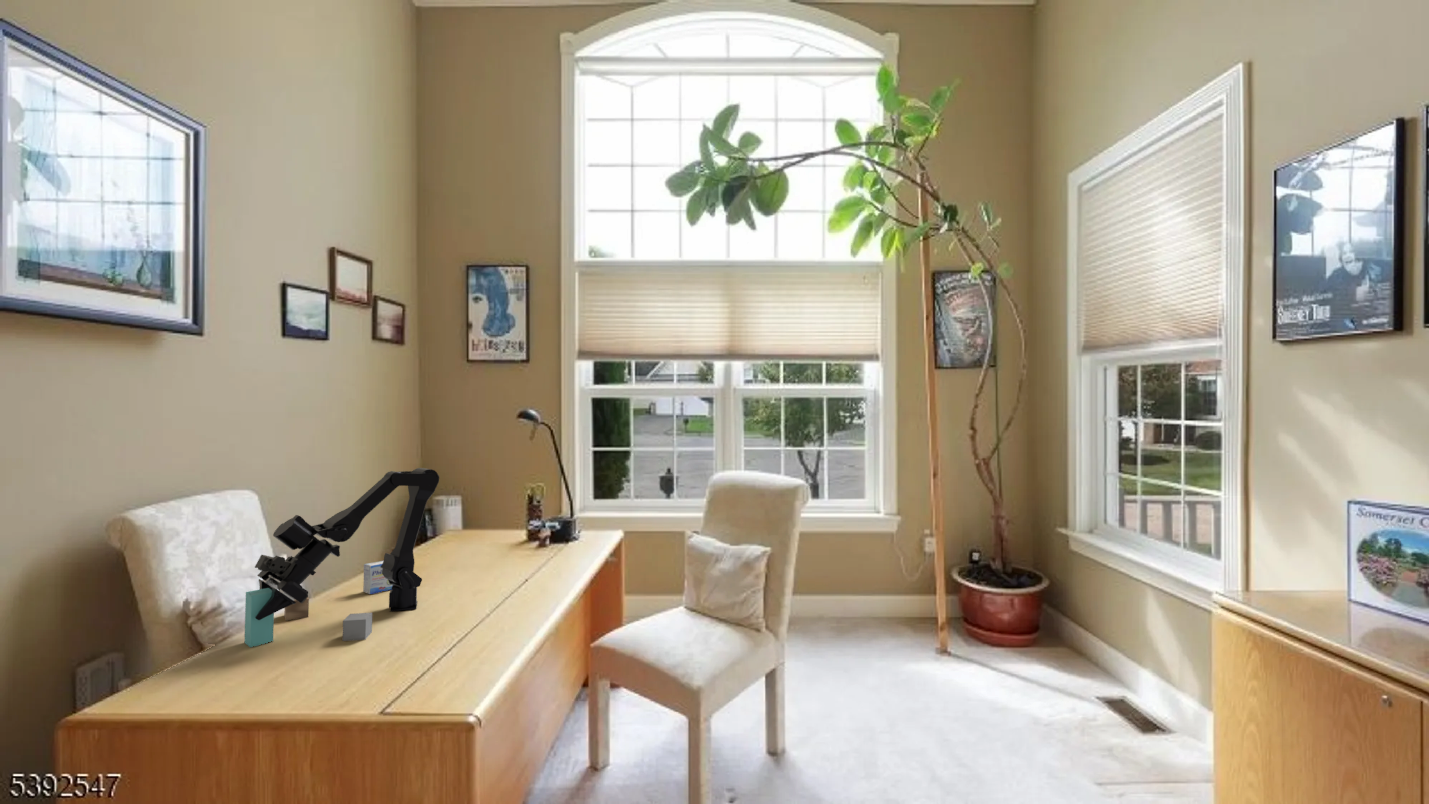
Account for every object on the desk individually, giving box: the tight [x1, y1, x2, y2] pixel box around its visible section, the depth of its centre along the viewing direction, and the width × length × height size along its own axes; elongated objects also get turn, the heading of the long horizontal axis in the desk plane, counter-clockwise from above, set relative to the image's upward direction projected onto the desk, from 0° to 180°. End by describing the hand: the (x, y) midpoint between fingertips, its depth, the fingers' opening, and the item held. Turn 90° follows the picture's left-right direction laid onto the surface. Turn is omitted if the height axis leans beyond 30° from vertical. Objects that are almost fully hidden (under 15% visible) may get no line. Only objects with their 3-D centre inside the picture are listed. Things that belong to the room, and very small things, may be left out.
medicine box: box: [363, 560, 393, 595], centre depth 187 cm, size 8×4×9 cm, turn 143°
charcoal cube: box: [342, 612, 373, 642], centre depth 150 cm, size 5×5×5 cm
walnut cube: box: [283, 597, 310, 621], centre depth 164 cm, size 5×5×5 cm
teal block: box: [244, 588, 275, 648], centre depth 145 cm, size 4×4×12 cm
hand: (252, 615), depth 144 cm, fingers open, 6 cm apart
